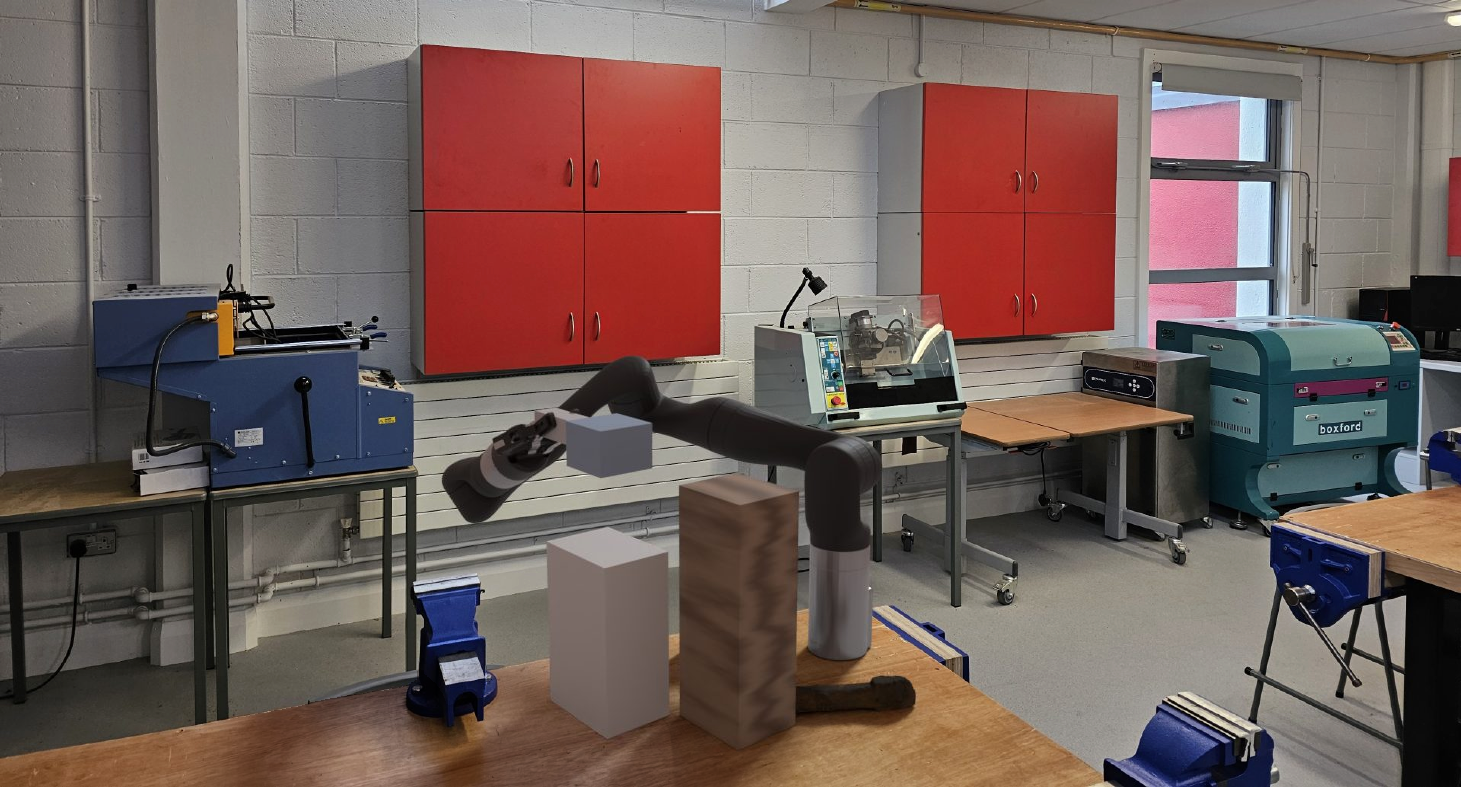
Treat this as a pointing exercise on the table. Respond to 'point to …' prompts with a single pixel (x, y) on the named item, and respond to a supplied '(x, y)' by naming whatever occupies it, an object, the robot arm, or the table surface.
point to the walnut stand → (738, 607)
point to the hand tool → (857, 695)
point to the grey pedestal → (608, 629)
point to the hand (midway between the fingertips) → (565, 417)
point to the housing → (602, 442)
